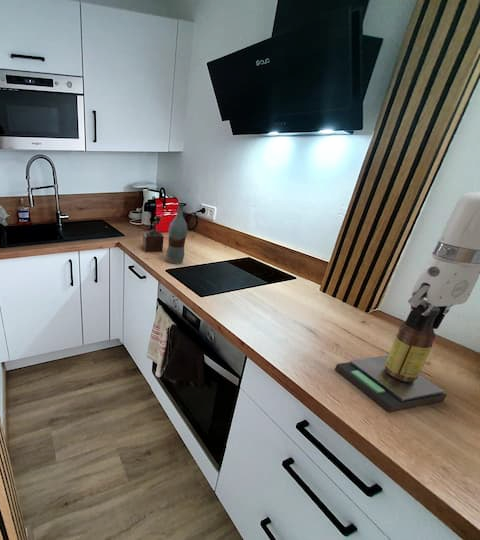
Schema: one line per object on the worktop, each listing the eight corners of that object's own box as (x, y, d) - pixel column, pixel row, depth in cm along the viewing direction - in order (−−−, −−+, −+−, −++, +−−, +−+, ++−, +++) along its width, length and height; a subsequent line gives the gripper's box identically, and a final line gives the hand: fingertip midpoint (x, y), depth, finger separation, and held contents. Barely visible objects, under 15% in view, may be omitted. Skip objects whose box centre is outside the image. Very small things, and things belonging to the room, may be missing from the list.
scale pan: (386, 357, 80) (387, 355, 80) (443, 393, 68) (445, 390, 68) (349, 362, 77) (350, 360, 77) (401, 401, 66) (402, 398, 65)
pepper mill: (163, 252, 163) (166, 221, 156) (144, 252, 162) (146, 221, 155) (158, 243, 177) (160, 215, 170) (140, 243, 176) (142, 214, 169)
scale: (383, 362, 81) (386, 354, 80) (443, 401, 69) (448, 393, 68) (334, 369, 78) (337, 362, 77) (388, 412, 65) (392, 404, 64)
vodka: (162, 260, 150) (167, 203, 139) (172, 256, 156) (178, 201, 144) (176, 266, 144) (183, 206, 132) (186, 261, 150) (194, 204, 138)
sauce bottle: (419, 376, 72) (454, 308, 64) (412, 387, 69) (448, 317, 61) (386, 361, 77) (415, 297, 69) (377, 371, 74) (407, 305, 66)
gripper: (452, 261, 54) (411, 340, 62) (513, 257, 58) (467, 332, 65) (408, 249, 61) (376, 321, 68) (465, 246, 65) (428, 314, 72)
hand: (420, 325), depth 67 cm, fingers closed on sauce bottle, 4 cm apart
